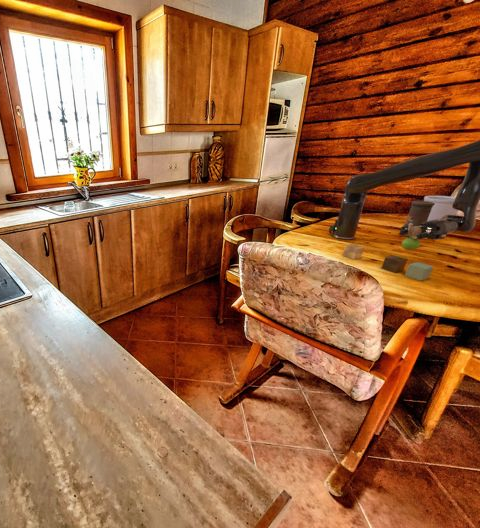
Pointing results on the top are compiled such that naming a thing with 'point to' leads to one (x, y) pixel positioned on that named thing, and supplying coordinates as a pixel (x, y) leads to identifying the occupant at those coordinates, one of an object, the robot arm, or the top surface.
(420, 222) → the container
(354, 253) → the mauve cube
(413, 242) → the snail figurine
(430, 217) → the utensil holder
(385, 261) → the walnut block
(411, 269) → the sage block
